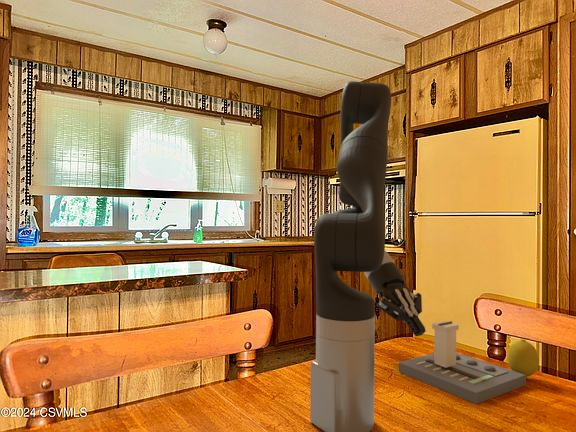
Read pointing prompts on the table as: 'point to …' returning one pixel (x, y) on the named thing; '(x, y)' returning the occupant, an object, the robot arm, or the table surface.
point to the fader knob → (445, 343)
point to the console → (464, 377)
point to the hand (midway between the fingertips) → (421, 333)
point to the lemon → (523, 358)
